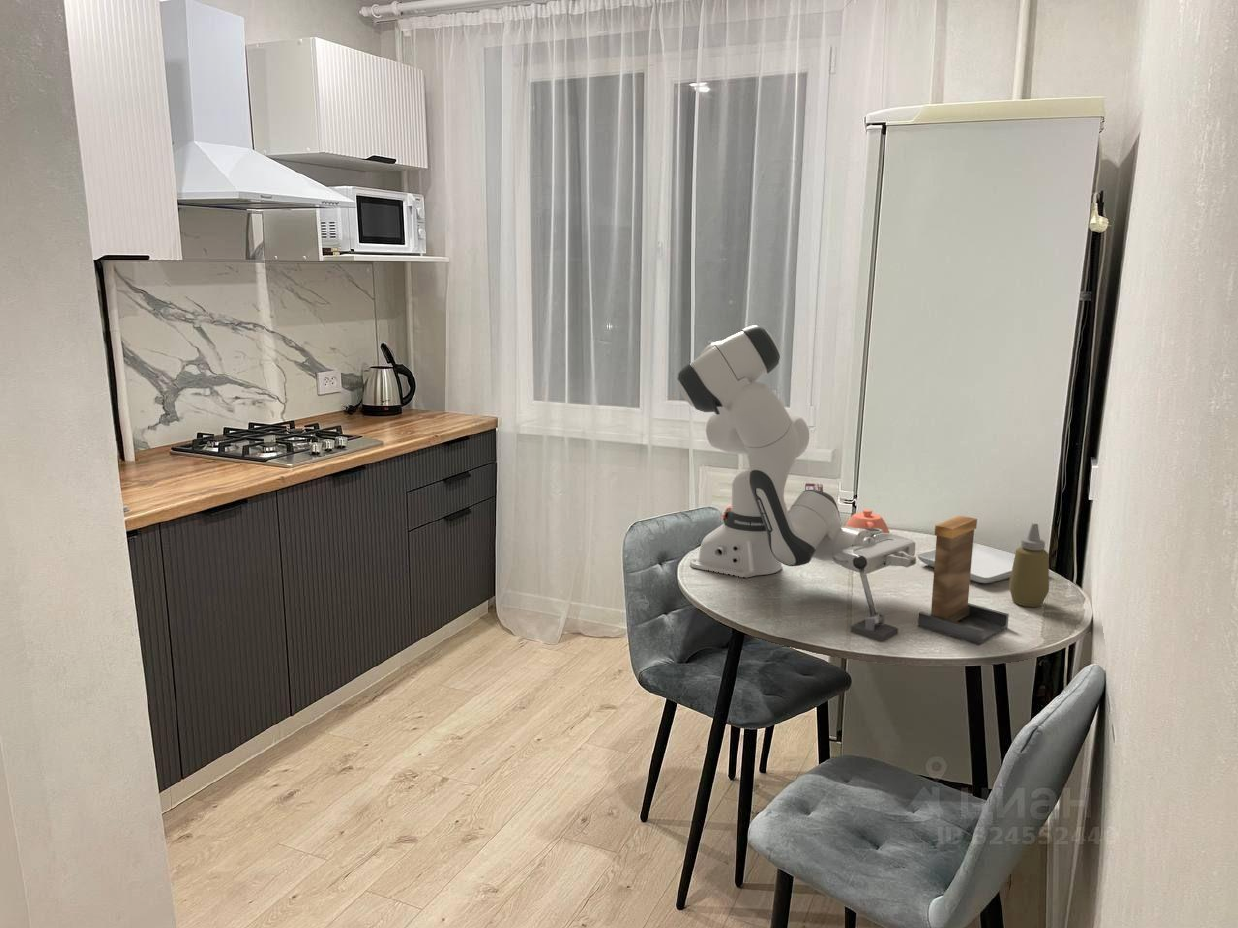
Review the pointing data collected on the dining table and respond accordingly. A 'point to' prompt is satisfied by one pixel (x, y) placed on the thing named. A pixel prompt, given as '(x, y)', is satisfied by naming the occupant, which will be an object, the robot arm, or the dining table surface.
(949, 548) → the walnut paddle
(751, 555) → the robot arm
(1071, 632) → the dining table surface
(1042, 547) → the squeeze bottle
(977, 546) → the salad plate
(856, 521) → the sugar bowl
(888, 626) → the lever base
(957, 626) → the paddle track
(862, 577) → the toggle lever
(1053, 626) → the dining table surface
